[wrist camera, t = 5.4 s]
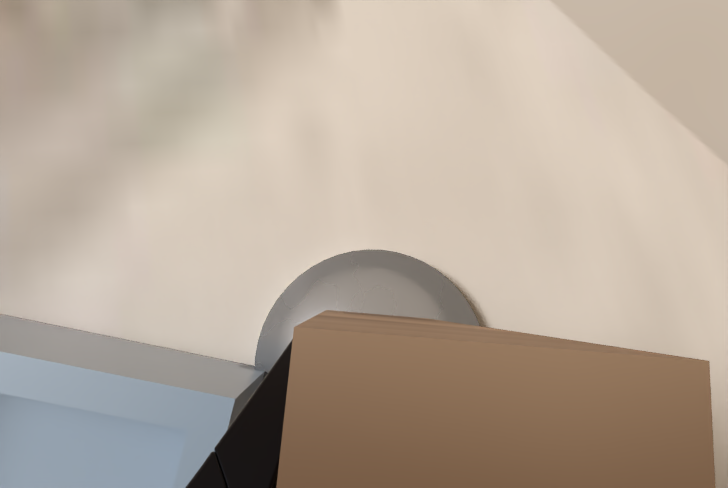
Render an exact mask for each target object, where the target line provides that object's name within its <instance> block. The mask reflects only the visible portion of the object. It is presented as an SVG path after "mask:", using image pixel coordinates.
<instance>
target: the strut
mask: <svg viewBox="0 0 728 488" xmlns="http://www.w3.org/2000/svg"><path fill="white" fill-rule="evenodd" d="M276 488H715V472H714V451H713V430H712V409H711V389H710V368H709V361H705V360H699V359H692V358H685V357H679V356H672V355H666V354H659V353H652V352H646V351H639V350H633V349H626V348H619V347H613V346H606V345H600V344H593V343H586V342H580V341H573V340H567V339H560V338H553V337H547V336H540V335H534V334H527V333H520V332H514V331H507V330H501V329H494V328H487V327H481V326H474V325H468V324H461V323H454V322H448V321H441V320H435V319H428V318H416V317H404V316H392V315H381V314H369V313H357V312H345V311H334V310H325V311H324V312H322V313H320V314H318V315H316V316H314V317H312V318H310V319H308V320H306V321H304V322H303V323H301V324H299V325H297V326H295V327H294V331H293V340H292V350H291V359H290V368H289V377H288V386H287V395H286V404H285V413H284V422H283V432H282V441H281V450H280V459H279V468H278V477H277V486H276Z"/></svg>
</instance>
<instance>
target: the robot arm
mask: <svg viewBox="0 0 728 488" xmlns="http://www.w3.org/2000/svg"><path fill="white" fill-rule="evenodd" d="M292 340H293V339H292ZM292 340H291V342H290V343H289V344H288V346H287V347H286V349H285V350H284V351H283V353H282V354H281V356H280V357H279V358H278V360H277V361H276V363H275V364H274V365H273V367H272V368H271V370H270V371H269V372H268V374H267V375H266V377H265V378H264V379H263V381H262V382H261V384H260V385H259V386H258V388H257V389H256V391H255V392H254V393H253V395H252V396H251V398H250V399H249V400H248V402H247V403H246V404H245V406H244V407H243V409H242V410H241V411H240V413H239V414H238V416H237V417H236V418H235V420H234V421H233V423H232V424H231V425H230V427H229V428H228V430H227V431H226V432H225V434H224V435H223V437H222V438H221V439H220V441H219V442H218V444H217V445H216V446H215V448H214V451H215V452H214V451H212V452H211V453H210V455H209V456H208V457H207V459H206V460H205V462H204V463H203V464H202V466H201V467H200V469H199V470H198V471H197V473H196V474H195V475H194V476H193V478H192V479H191V480H190V482H189V483H188V484H187V486H186V487H185V488H276V486H277V477H278V468H279V459H280V450H281V441H282V432H283V422H284V413H285V404H286V395H287V386H288V377H289V368H290V359H291V350H292Z"/></svg>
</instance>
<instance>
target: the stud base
mask: <svg viewBox="0 0 728 488" xmlns="http://www.w3.org/2000/svg"><path fill="white" fill-rule="evenodd" d="M325 310H334V311H345V312H357V313H369V314H381V315H392V316H404V317H416V318H428V319H435V320H441V321H448V322H454V323H461V324H468V325H474V326H480V325H479V322H478V320H477V318H476V315H475V313H474V312H473V310H472V308H471V306H470V305H469V303H468V301H467V300H466V299H465V297H464V296H463V295H462V293H461V292H460V291H459V290H458V288H457V287H456V286H455V285H454V284H453V283H452V282H451V281H450V280H449V279H448V278H446V277H445V276H444V275H442V274H441V273H440V272H439V271H437V270H436V269H434V268H433V267H431V266H429V265H428V264H426V263H424V262H422V261H420V260H418V259H415V258H413V257H411V256H407V255H404V254H400V253H397V252H391V251H385V250H361V251H352V252H348V253H344V254H340V255H337V256H334V257H331V258H329V259H326V260H324V261H322V262H320V263H318V264H317V265H315V266H313V267H311V268H310V269H308V270H307V271H306V272H304V273H303V274H301V275H300V276H299V277H298V278H297V279H295V280H294V281H293V282H292V283H291V284H290V285H289V286H288V287H287V288H286V289H285V291H284V292H283V293H282V294H281V296H280V297H279V298H278V299H277V301H276V303H275V304H274V306H273V307H272V309H271V311H270V312H269V314H268V316H267V319H266V321H265V323H264V325H263V327H262V331H261V334H260V337H259V340H258V345H257V350H256V356H255V370H260V371H264V376H263V379H264V378H265V377H266V375H267V374H268V372H269V371H270V370H271V368H272V367H273V365H274V364H275V363H276V361H277V360H278V358H279V357H280V356H281V354H282V353H283V351H284V350H285V349H286V347H287V346H288V344H289V343H290V342H291V340H292V339H293V331H294V327H295V326H297V325H299V324H301V323H303V322H304V321H306V320H308V319H310V318H312V317H314V316H316V315H318V314H320V313H322V312H324V311H325ZM262 381H263V380H262Z"/></svg>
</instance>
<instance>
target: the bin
mask: <svg viewBox="0 0 728 488" xmlns="http://www.w3.org/2000/svg"><path fill="white" fill-rule="evenodd" d="M263 376H264V371H260V370H255V366H251V365H246V364H241V363H236V362H232V361H227V360H222V359H217V358H212V357H207V356H202V355H197V354H193V353H188V352H183V351H178V350H173V349H168V348H163V347H158V346H153V345H149V344H144V343H139V342H134V341H129V340H124V339H119V338H114V337H110V336H105V335H100V334H95V333H90V332H85V331H80V330H75V329H71V328H66V327H61V326H56V325H51V324H46V323H41V322H36V321H31V320H27V319H22V318H17V317H12V316H7V315H2V314H0V488H185V487H186V486H187V484H188V483H189V482H190V480H191V479H192V478H193V476H194V475H195V474H196V473H197V471H198V470H199V469H200V467H201V466H202V464H203V463H204V462H205V460H206V459H207V457H208V456H209V455H210V453H211V452H212V451H214V448H215V446H216V445H217V444H218V442H219V441H220V439H221V438H222V437H223V435H224V434H225V432H226V431H227V430H228V428H229V427H230V425H231V424H232V423H233V421H234V420H235V418H236V417H237V416H238V414H239V413H240V411H241V410H242V409H243V407H244V406H245V404H246V403H247V402H248V400H249V399H250V398H251V396H252V395H253V393H254V392H255V391H256V389H257V388H258V386H259V385H260V384H261V382H262V380H263ZM214 452H215V451H214Z"/></svg>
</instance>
